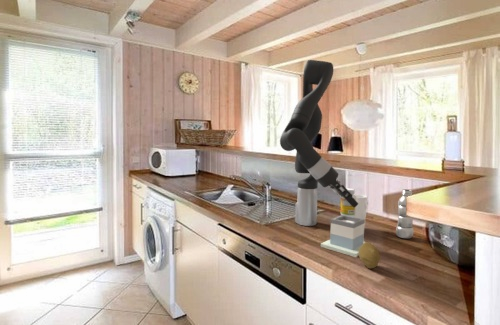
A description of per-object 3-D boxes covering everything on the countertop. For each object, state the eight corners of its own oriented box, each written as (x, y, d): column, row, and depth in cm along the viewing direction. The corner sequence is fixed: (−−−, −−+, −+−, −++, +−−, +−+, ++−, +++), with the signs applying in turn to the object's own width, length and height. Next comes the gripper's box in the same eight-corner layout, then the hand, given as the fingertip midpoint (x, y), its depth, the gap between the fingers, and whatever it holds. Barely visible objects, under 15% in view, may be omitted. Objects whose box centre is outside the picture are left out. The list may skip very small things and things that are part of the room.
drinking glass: (361, 232, 134) (362, 198, 133) (347, 228, 140) (348, 195, 138) (368, 228, 139) (370, 196, 138) (355, 225, 144) (356, 193, 143)
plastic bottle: (391, 236, 129) (394, 189, 127) (403, 234, 132) (406, 188, 130) (405, 241, 123) (407, 192, 121) (416, 239, 126) (420, 191, 124)
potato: (360, 260, 104) (361, 237, 104) (384, 266, 99) (385, 242, 99) (352, 267, 99) (353, 242, 98) (377, 274, 94) (378, 248, 93)
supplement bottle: (343, 212, 119) (344, 187, 118) (357, 214, 116) (358, 189, 115) (338, 214, 115) (339, 189, 114) (352, 217, 112) (353, 191, 111)
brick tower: (320, 246, 116) (321, 219, 115) (338, 237, 126) (339, 212, 125) (356, 257, 107) (357, 227, 106) (372, 246, 117) (373, 219, 116)
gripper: (335, 166, 106) (368, 201, 108) (324, 162, 121) (353, 193, 122) (319, 181, 107) (352, 215, 108) (310, 176, 121) (339, 206, 122)
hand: (353, 203), depth 115 cm, fingers closed on supplement bottle, 5 cm apart
